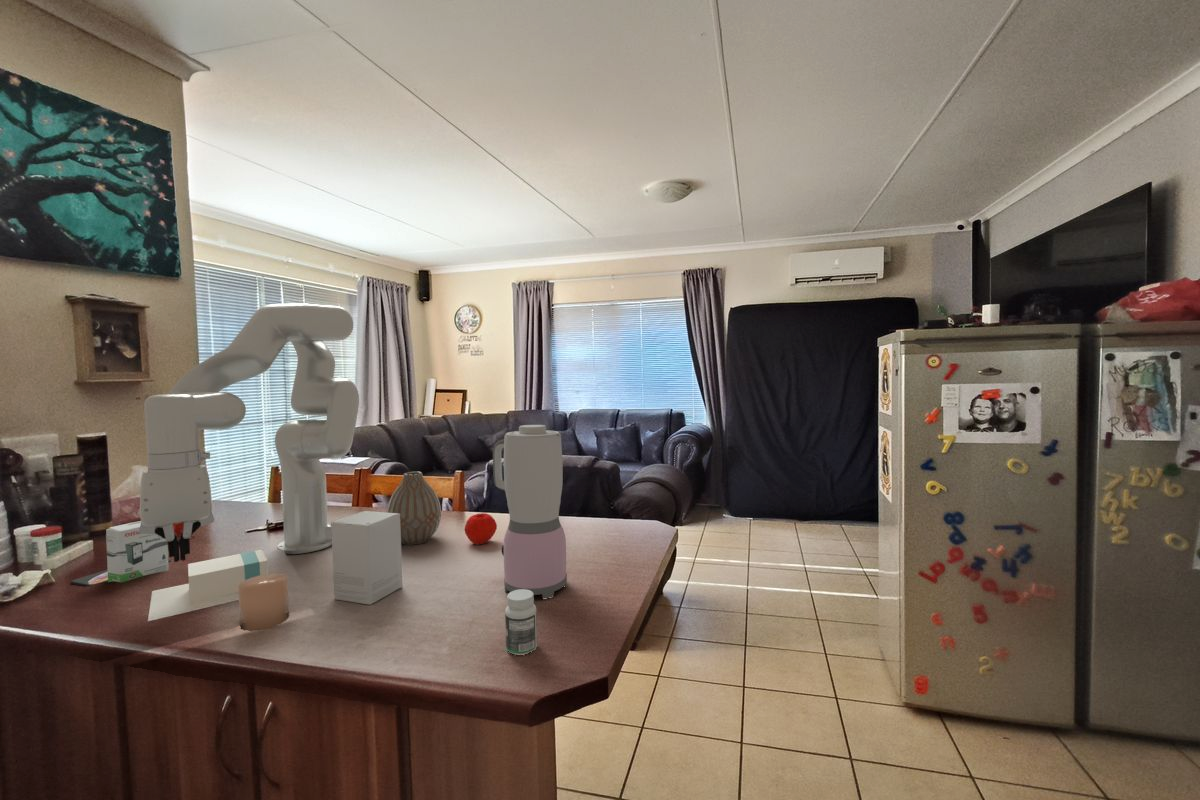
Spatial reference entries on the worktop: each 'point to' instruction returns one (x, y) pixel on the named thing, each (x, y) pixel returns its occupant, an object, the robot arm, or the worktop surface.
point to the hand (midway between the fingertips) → (180, 559)
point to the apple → (480, 528)
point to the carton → (224, 574)
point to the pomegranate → (179, 529)
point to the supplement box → (366, 556)
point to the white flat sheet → (180, 602)
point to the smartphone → (93, 579)
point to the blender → (532, 509)
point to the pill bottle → (521, 622)
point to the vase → (415, 508)
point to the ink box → (134, 553)
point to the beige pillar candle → (263, 601)
